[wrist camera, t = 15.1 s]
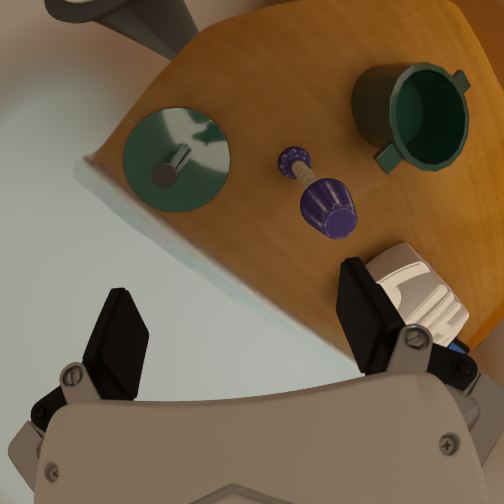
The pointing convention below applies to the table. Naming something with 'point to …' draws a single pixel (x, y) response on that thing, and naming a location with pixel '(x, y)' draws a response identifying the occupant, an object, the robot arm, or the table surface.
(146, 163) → the lid
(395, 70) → the pot
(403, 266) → the wavy white extrusion
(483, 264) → the table surface
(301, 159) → the toy lamp
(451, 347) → the handheld console
